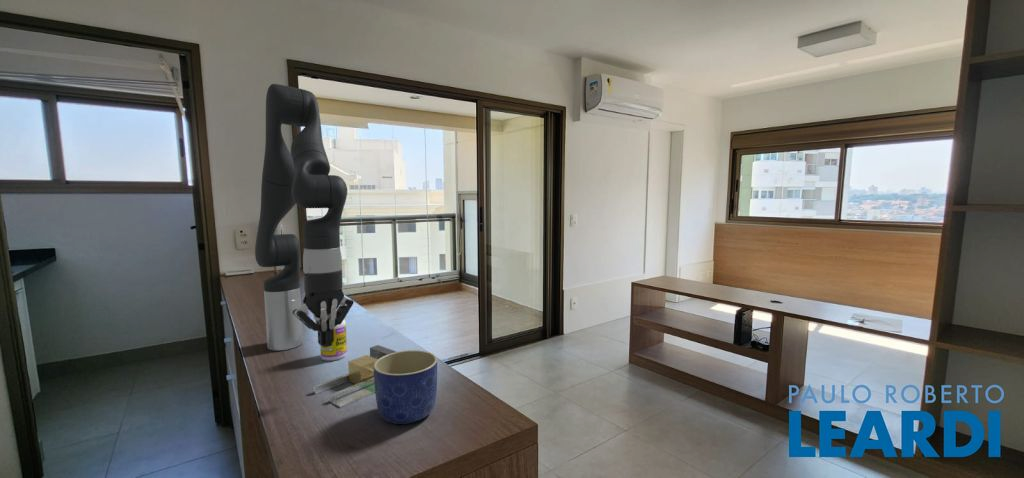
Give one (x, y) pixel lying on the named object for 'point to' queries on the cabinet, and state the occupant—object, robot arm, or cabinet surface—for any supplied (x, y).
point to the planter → (405, 385)
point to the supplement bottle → (336, 344)
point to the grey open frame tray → (356, 390)
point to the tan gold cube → (361, 369)
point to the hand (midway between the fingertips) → (326, 346)
